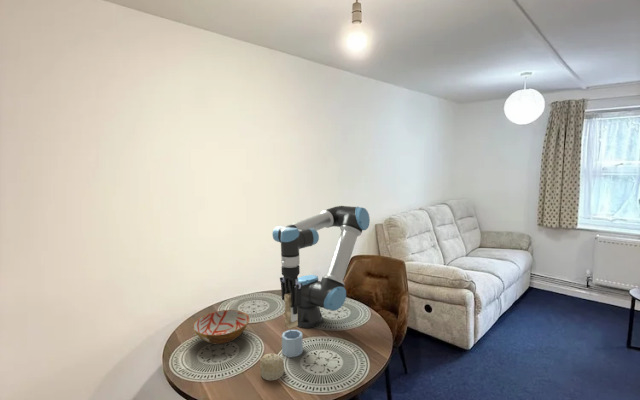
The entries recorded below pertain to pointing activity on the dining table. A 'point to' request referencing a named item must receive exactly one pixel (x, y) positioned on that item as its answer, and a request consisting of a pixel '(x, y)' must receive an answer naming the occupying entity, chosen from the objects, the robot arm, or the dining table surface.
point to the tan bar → (289, 312)
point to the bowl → (221, 326)
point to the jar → (292, 343)
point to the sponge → (271, 367)
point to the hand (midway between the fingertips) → (291, 319)
